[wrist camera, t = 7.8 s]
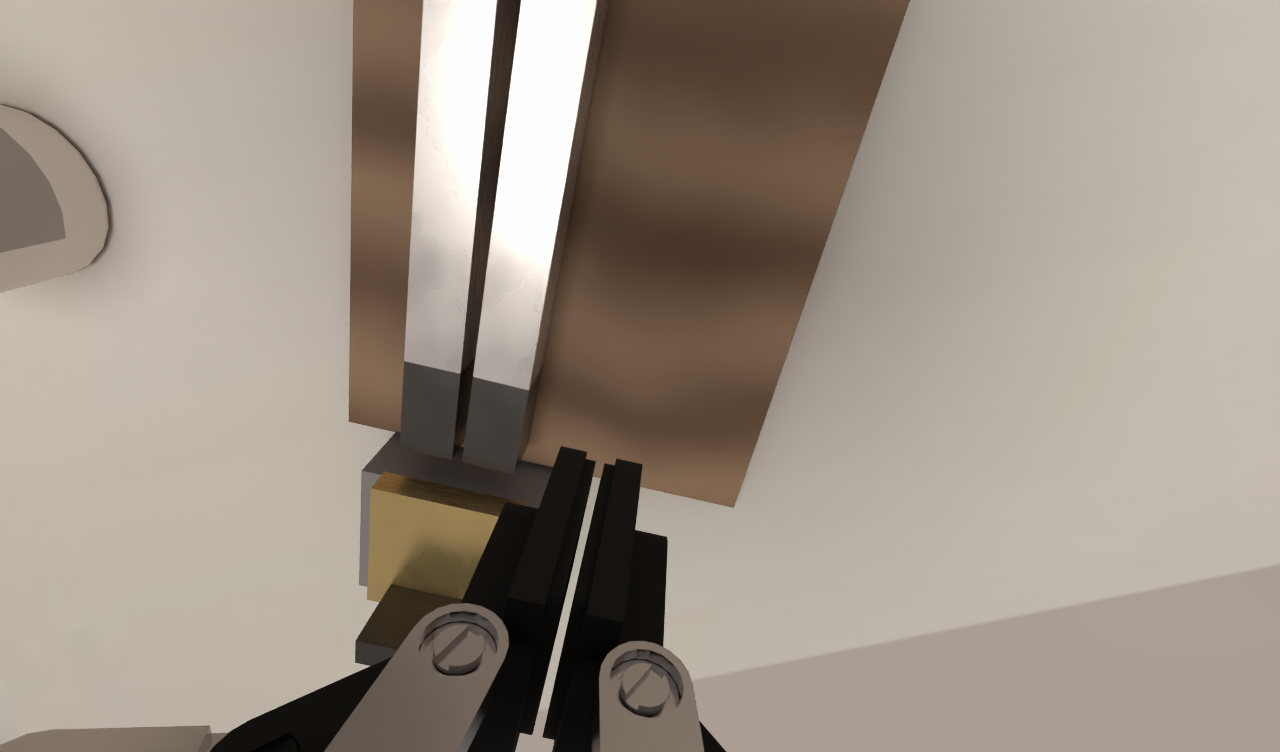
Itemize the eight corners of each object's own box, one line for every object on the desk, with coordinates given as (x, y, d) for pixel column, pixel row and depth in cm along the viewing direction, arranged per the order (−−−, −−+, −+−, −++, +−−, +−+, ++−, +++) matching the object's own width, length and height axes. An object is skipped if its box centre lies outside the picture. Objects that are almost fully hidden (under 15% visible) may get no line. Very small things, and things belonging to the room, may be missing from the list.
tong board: (373, -269, 18) (356, -289, 17) (944, -127, 19) (957, -138, 18) (359, 411, 28) (348, 421, 27) (732, 494, 29) (733, 507, 28)
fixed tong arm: (458, -86, 19) (429, -111, 17) (526, -69, 19) (505, -92, 17) (423, 420, 27) (399, 448, 25) (471, 431, 27) (451, 460, 25)
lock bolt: (384, 471, 25) (329, 538, 21) (527, 503, 25) (497, 575, 21) (380, 579, 27) (330, 656, 24) (509, 608, 27) (480, 689, 24)
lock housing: (401, 425, 28) (361, 470, 25) (566, 463, 29) (550, 512, 25) (395, 531, 31) (359, 584, 28) (547, 564, 31) (529, 622, 28)
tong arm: (504, -236, 18) (470, -298, 15) (644, -198, 18) (636, -252, 15) (436, 422, 27) (408, 458, 24) (528, 444, 27) (510, 482, 24)
